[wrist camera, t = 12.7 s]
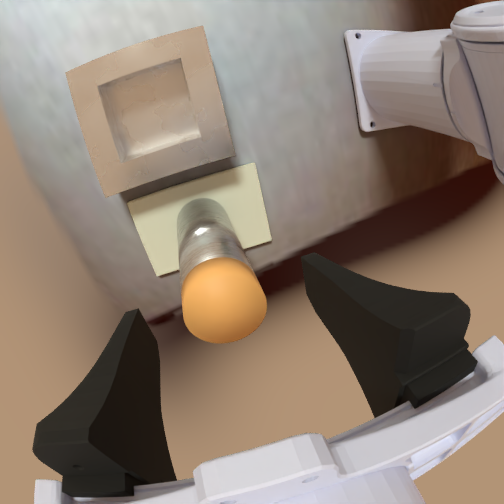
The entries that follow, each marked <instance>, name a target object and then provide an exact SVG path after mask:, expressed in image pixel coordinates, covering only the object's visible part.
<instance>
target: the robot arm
mask: <svg viewBox="0 0 504 504" xmlns="http://www.w3.org/2000/svg"><path fill="white" fill-rule="evenodd" d="M450 27H451V29H439V30H426V31H416V32H402V31H385V30H348V31H346V32H345V34H344V38H345V43H346V47H347V52H348V57H349V62H350V68H351V73H352V79H353V85H354V91H355V97H356V104H357V110H358V118H359V125H360V129H361V130H362V131H365V132H370V131H376V130H382V129H388V128H394V127H401V126H407V125H412V126H416V127H420V128H424V129H428V130H431V131H435V132H439V133H442V134H446V135H449V136H452V137H456V138H459V139H462V140H465V141H468V142H471V143H472V144H473V145H474V146H475V148H476V151H477V154H478V155H480V156H483V157H485V158H488V159H490V160H493V167H494V171H495V173H496V175H497V177H498V179H499V180H500V181H501V182H502V183H503V184H504V1H494V2H487V3H482V4H477V5H473V6H470V7H467V8H464V9H462V10H460V11H458V12H457V13H456V14H455V17H454V19H453V21H452V22H451V24H450ZM355 34H357V35H358V39H357V38H356V37H355ZM371 122H372V123H373V125H372V127H370V123H371ZM301 261H302V267H303V273H304V280H305V287H306V293H307V296H308V298H309V300H310V302H311V303H312V306H313V307H314V309H315V312H316V313H317V315H318V316H319V317H320V319H321V320H322V322H323V323H324V325H325V326H326V328H327V329H328V331H329V332H330V333H331V335H332V336H333V338H334V339H335V341H336V342H337V343H338V345H339V346H340V348H341V350H342V351H343V353H344V354H345V356H346V358H347V360H348V362H349V364H350V366H351V368H352V370H353V371H354V374H355V375H356V377H357V380H358V382H359V384H360V385H361V388H362V390H363V392H364V394H365V397H366V399H367V401H368V403H369V405H370V408H371V410H372V413H373V415H374V417H375V418H374V419H372V420H370V421H368V422H366V423H364V424H362V425H359V426H357V427H355V428H353V429H351V430H348V431H346V432H344V433H341V434H339V435H336V436H334V437H332V438H329V439H327V440H326V438H325V437H324V436H323V435H321V434H318V433H304V434H300V435H296V436H291V437H288V438H285V439H282V440H279V441H276V442H273V443H270V444H266V445H263V446H260V447H256V448H253V449H249V450H246V451H242V452H238V453H235V454H231V455H227V456H222V457H219V458H215V459H212V460H209V461H206V462H203V463H201V464H200V465H199V466H198V467H197V468H196V469H195V470H194V471H193V475H194V478H191V479H184V480H178V481H177V479H176V476H175V473H174V469H173V466H172V462H171V458H170V454H169V450H168V446H167V441H166V437H165V431H164V425H163V419H162V413H161V397H160V358H159V351H158V344H157V340H156V339H155V337H154V335H153V334H152V332H151V330H150V328H149V327H148V325H147V323H146V321H145V319H144V318H143V316H142V314H141V312H140V310H139V309H135V310H132V311H128V312H126V313H125V314H124V316H123V318H122V319H121V321H120V323H119V325H118V326H117V328H116V330H115V332H114V333H113V335H112V337H111V339H110V341H109V343H108V344H107V346H106V347H105V349H104V351H103V352H102V354H101V355H100V357H99V359H98V360H97V362H96V363H95V365H94V366H93V368H92V369H91V370H90V372H89V373H88V375H87V376H86V377H85V378H84V380H83V381H82V382H81V383H80V384H79V385H78V387H77V388H76V389H75V390H74V391H73V392H72V394H71V395H70V396H69V397H68V398H67V399H66V400H65V401H64V402H63V403H62V404H60V405H59V406H58V407H57V408H56V409H55V410H54V411H53V412H52V413H50V414H49V415H48V416H46V417H45V418H44V419H43V420H41V421H40V422H39V423H38V424H37V426H36V431H35V437H34V443H33V453H34V454H35V456H36V457H37V458H38V459H39V460H40V461H41V462H43V463H44V464H46V465H47V466H49V467H50V468H52V469H53V470H55V471H56V472H58V473H59V474H61V475H62V476H63V479H62V482H60V481H57V480H42V479H37V480H36V483H35V496H34V504H426V503H425V501H424V499H423V498H422V496H421V494H420V492H419V490H418V489H417V487H416V485H415V483H414V482H413V480H415V479H416V478H418V477H420V476H421V475H423V474H424V473H426V472H427V471H429V470H430V469H432V468H433V467H435V466H436V465H437V464H439V463H440V462H442V461H443V460H445V459H446V458H447V457H449V456H450V455H451V454H453V453H454V452H455V451H457V450H458V449H459V448H461V447H462V446H463V445H464V444H466V443H467V442H468V441H470V440H471V439H472V438H473V437H474V436H476V435H477V434H478V433H479V432H481V431H482V430H483V429H484V428H485V427H486V426H488V425H489V424H490V423H491V422H492V421H493V420H495V419H496V418H497V417H498V416H499V415H500V414H502V413H503V412H504V344H503V343H502V342H501V341H500V340H499V339H498V338H497V337H496V336H492V337H491V338H489V339H488V340H487V341H485V342H484V343H483V344H481V345H480V346H479V347H477V348H476V349H475V350H474V351H473V353H472V354H471V353H470V352H469V351H468V350H467V348H468V347H469V345H468V343H467V342H466V341H465V340H464V336H465V333H466V330H467V327H468V324H469V321H470V309H469V307H468V305H466V304H465V303H464V302H463V301H462V300H461V299H460V298H459V297H458V296H457V295H455V294H454V293H439V292H438V293H437V292H426V291H417V290H411V289H405V288H401V287H396V286H392V285H388V284H385V283H382V282H378V281H375V280H372V279H370V278H367V277H364V276H362V275H360V274H357V273H355V272H352V271H350V270H348V269H346V268H344V267H342V266H340V265H338V264H336V263H334V262H332V261H330V260H328V259H326V258H324V257H322V256H320V255H318V254H316V253H311V254H308V255H305V256H302V257H301Z"/></svg>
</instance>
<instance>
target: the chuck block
mask: <svg viewBox="0 0 504 504" xmlns="http://www.w3.org/2000/svg"><path fill="white" fill-rule="evenodd" d="M66 77H67V81H68V84H69V88H70V92H71V96H72V99H73V103H74V106H75V110H76V113H77V117H78V120H79V123H80V126H81V130H82V133H83V136H84V139H85V142H86V145H87V148H88V151H89V154H90V157H91V160H92V163H93V166H94V168H95V171H96V174H97V177H98V179H99V182H100V185H101V187H102V190H103V193H104V195H105V198H107V197H109V196H112V195H115V194H117V193H120V192H123V191H125V190H128V189H131V188H134V187H136V186H139V185H142V184H145V183H148V182H151V181H154V180H157V179H160V178H163V177H166V176H169V175H172V174H175V173H178V172H181V171H184V170H187V169H191V168H194V167H197V166H200V165H204V164H207V163H211V162H214V161H217V160H221V159H224V158H228V157H232V156H235V152H234V148H233V144H232V140H231V136H230V131H229V127H228V123H227V119H226V115H225V111H224V107H223V103H222V99H221V95H220V91H219V87H218V83H217V79H216V75H215V71H214V67H213V63H212V59H211V55H210V51H209V47H208V43H207V39H206V35H205V31H204V27H203V26H199V27H195V28H191V29H187V30H182V31H179V32H175V33H171V34H167V35H164V36H160V37H157V38H154V39H150V40H147V41H144V42H141V43H138V44H135V45H132V46H129V47H126V48H123V49H121V50H118V51H115V52H113V53H110V54H107V55H105V56H102V57H100V58H97V59H95V60H93V61H90V62H88V63H86V64H83V65H81V66H79V67H77V68H74V69H72V70H70V71H68V72H66Z"/></svg>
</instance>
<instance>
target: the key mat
mask: <svg viewBox="0 0 504 504" xmlns="http://www.w3.org/2000/svg"><path fill="white" fill-rule="evenodd" d="M198 198H209V199H212V200H215V201H217V202H218V203H220V204H221V205H222V206H223V208H224V209H225V211H226V213H227V215H228V217H229V219H230V221H231V224H232V226H233V228H234V230H235V232H236V234H237V237H238V239H239V241H240V243H241V245H242V247H243V249H246V248H249V247H252V246H255V245H258V244H262V243H265V242H268V241H271V240H272V239H271V234H270V230H269V225H268V220H267V216H266V211H265V206H264V202H263V197H262V193H261V188H260V184H259V179H258V175H257V170H256V166H255V163H250V164H246V165H242V166H239V167H235V168H231V169H228V170H224V171H221V172H218V173H214V174H211V175H207V176H204V177H201V178H198V179H194V180H191V181H188V182H185V183H182V184H178V185H175V186H172V187H169V188H166V189H163V190H160V191H157V192H154V193H151V194H148V195H145V196H143V197H140V198H137V199H134V200H131V201H128V203H127V205H128V208H129V210H130V213H131V215H132V218H133V221H134V223H135V226H136V228H137V231H138V233H139V235H140V238H141V240H142V243H143V245H144V247H145V250H146V252H147V255H148V257H149V259H150V262H151V264H152V266H153V268H154V271H155V273H156V275H157V276H160V275H163V274H166V273H169V272H172V271H176V270H179V257H178V240H177V217H178V214H179V212H180V210H181V209H182V208H183V206H184V205H186V204H187V203H188V202H190V201H192V200H194V199H198Z"/></svg>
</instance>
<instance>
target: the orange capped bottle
mask: <svg viewBox="0 0 504 504" xmlns="http://www.w3.org/2000/svg"><path fill="white" fill-rule="evenodd" d="M177 240H178V257H179V271H180V284H181V296H182V307H183V317H184V322H185V324H186V326H187V328H188V329H189V330H190V332H191V333H192V334H193V335H195V336H196V337H198V338H199V339H202V340H204V341H207V342H211V343H229V342H234V341H237V340H240V339H242V338H244V337H246V336H248V335H250V334H251V333H252V332H254V331H255V330H256V329H257V328H258V327H259V325H260V324H261V323H262V321H263V319H264V317H265V314H266V311H267V301H266V297H265V295H264V293H263V290H262V288H261V286H260V284H259V282H258V280H257V277H256V275H255V273H254V271H253V269H252V267H251V265H250V262H249V260H248V258H247V256H246V254H245V252H244V249H243V247H242V245H241V243H240V241H239V239H238V237H237V234H236V232H235V230H234V228H233V226H232V224H231V221H230V219H229V217H228V215H227V213H226V211H225V209H224V208H223V206H222V205H221V204H220V203H218V202H217V201H215V200H212V199H209V198H198V199H194V200H192V201H190V202H188V203H187V204H186V205H184V206H183V208H182V209H181V210H180V212H179V214H178V217H177Z"/></svg>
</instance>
